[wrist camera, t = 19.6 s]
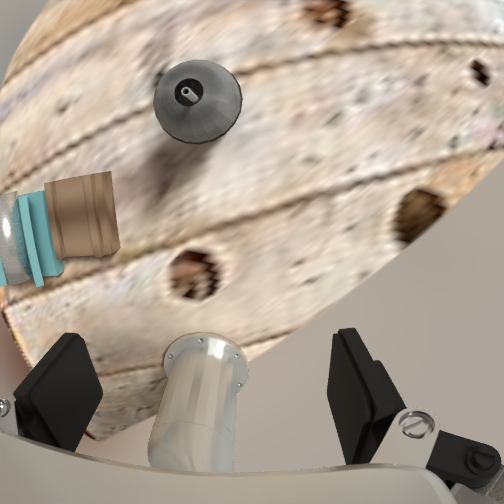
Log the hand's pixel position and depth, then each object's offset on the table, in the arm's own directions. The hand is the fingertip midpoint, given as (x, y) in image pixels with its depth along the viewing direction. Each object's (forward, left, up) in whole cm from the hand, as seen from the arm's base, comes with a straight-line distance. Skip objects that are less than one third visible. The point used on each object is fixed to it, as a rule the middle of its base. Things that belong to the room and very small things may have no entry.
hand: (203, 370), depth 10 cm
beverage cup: (+12, +2, -28) cm, 31 cm away
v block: (0, +31, -28) cm, 42 cm away
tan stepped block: (+2, +20, -28) cm, 35 cm away
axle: (+1, +31, -25) cm, 40 cm away
